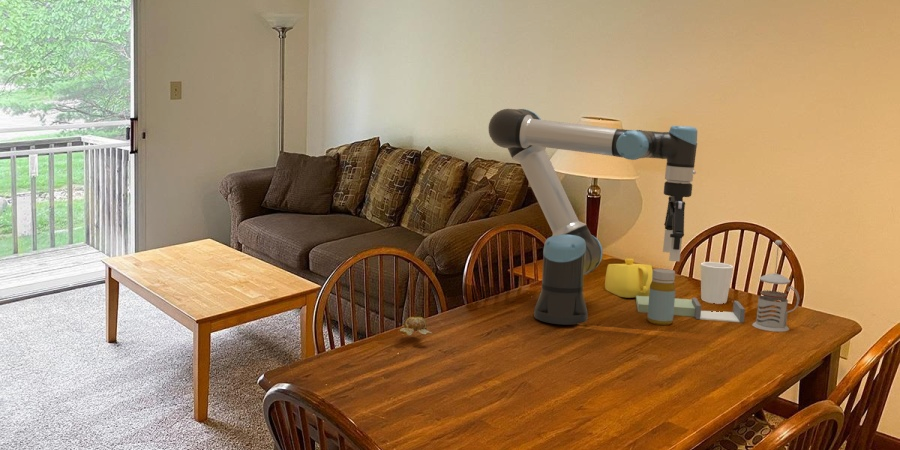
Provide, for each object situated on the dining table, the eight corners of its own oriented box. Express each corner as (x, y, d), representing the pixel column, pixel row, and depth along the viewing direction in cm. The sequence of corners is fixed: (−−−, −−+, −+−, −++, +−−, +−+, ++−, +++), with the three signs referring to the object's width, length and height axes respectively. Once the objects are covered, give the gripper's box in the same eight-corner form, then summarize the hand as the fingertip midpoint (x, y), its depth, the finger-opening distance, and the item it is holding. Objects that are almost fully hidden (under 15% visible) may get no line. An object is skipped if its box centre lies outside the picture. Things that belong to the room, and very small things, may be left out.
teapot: (594, 293, 262) (594, 257, 261) (625, 291, 266) (625, 256, 266) (630, 298, 243) (629, 260, 243) (663, 296, 248) (662, 259, 248)
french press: (757, 320, 231) (764, 236, 228) (799, 327, 224) (808, 241, 221) (747, 327, 223) (755, 239, 220) (791, 334, 216) (800, 245, 213)
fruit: (400, 335, 200) (400, 320, 199) (398, 328, 208) (399, 314, 207) (432, 335, 200) (433, 320, 200) (430, 328, 209) (430, 314, 208)
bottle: (673, 326, 220) (677, 273, 218) (647, 324, 222) (651, 271, 220) (671, 320, 227) (675, 269, 225) (646, 318, 229) (650, 267, 227)
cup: (736, 306, 249) (740, 266, 247) (716, 309, 243) (720, 268, 241) (710, 299, 257) (713, 260, 255) (690, 302, 251) (693, 263, 249)
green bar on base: (638, 314, 233) (639, 301, 232) (635, 303, 247) (636, 290, 246) (743, 322, 228) (745, 309, 227) (734, 310, 242) (735, 297, 242)
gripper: (700, 186, 207) (691, 266, 210) (685, 179, 232) (678, 250, 235) (671, 184, 208) (662, 263, 211) (659, 177, 233) (652, 247, 236)
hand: (670, 256), depth 223 cm, fingers open, 13 cm apart
